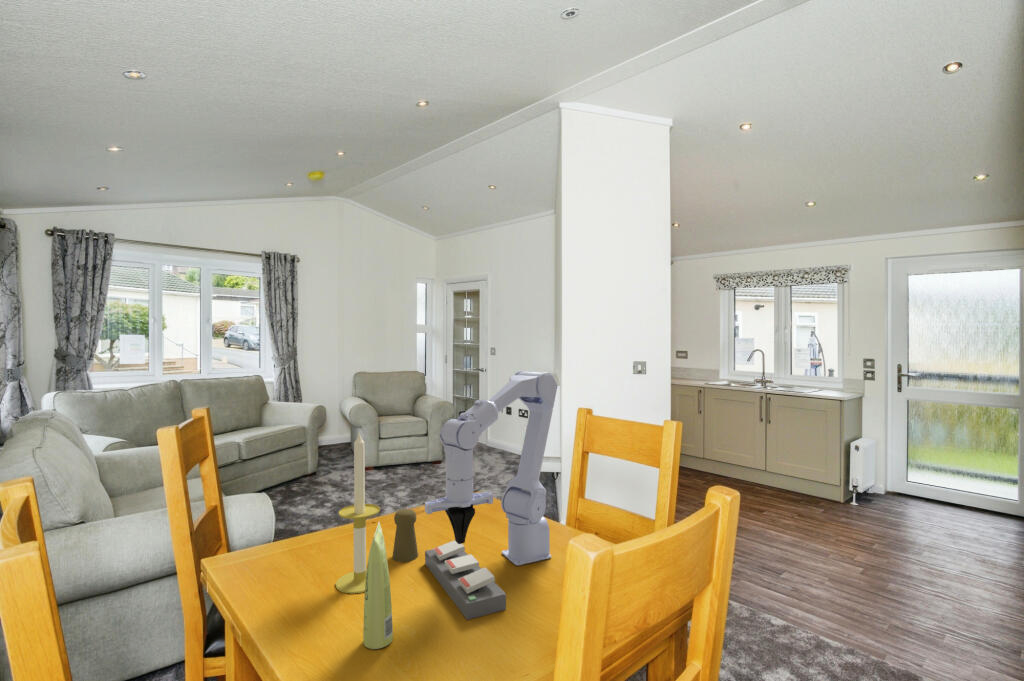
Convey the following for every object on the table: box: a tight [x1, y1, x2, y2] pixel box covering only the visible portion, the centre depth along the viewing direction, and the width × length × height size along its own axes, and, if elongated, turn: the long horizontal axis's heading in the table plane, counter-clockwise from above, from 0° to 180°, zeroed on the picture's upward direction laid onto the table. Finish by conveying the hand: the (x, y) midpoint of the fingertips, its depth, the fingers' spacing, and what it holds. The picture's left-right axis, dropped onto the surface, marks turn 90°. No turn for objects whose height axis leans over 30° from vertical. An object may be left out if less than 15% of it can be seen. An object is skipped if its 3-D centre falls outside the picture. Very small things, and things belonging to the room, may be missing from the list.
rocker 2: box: [445, 554, 480, 574], centre depth 107 cm, size 6×4×1 cm
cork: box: [392, 508, 419, 563], centre depth 121 cm, size 6×6×11 cm
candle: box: [334, 430, 381, 595], centre depth 108 cm, size 10×10×32 cm
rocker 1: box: [432, 540, 466, 561], centre depth 114 cm, size 6×4×1 cm
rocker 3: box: [458, 567, 496, 594], centre depth 100 cm, size 6×4×1 cm
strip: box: [424, 548, 507, 621], centre depth 107 cm, size 8×26×4 cm, turn 27°
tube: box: [362, 521, 394, 650], centre depth 87 cm, size 6×5×20 cm
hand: (459, 541), depth 106 cm, fingers closed
